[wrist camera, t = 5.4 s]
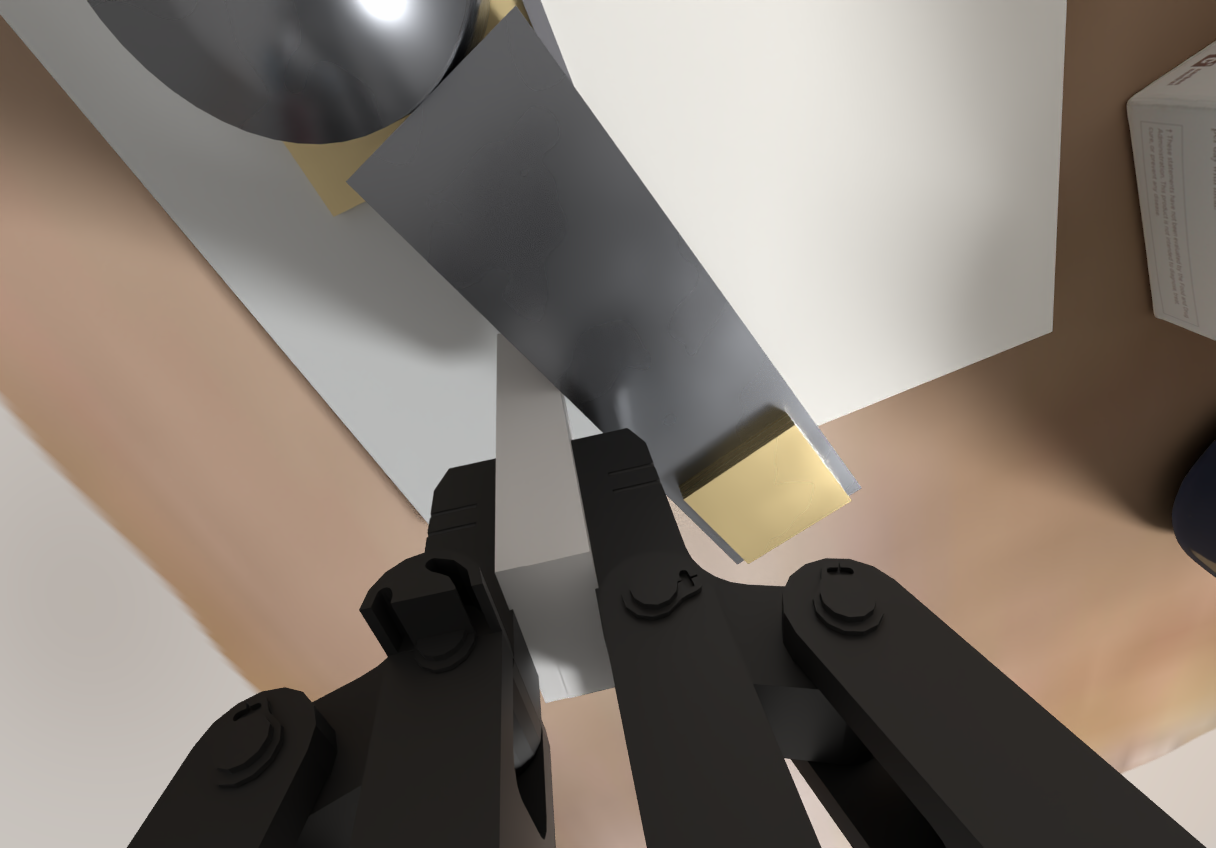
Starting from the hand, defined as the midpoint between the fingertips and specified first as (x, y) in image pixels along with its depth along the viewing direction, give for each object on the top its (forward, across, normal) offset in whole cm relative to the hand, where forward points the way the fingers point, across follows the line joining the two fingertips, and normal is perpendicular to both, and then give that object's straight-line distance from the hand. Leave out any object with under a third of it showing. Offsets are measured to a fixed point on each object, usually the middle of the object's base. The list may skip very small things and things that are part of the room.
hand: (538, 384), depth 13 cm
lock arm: (+1, +1, +3) cm, 4 cm away
